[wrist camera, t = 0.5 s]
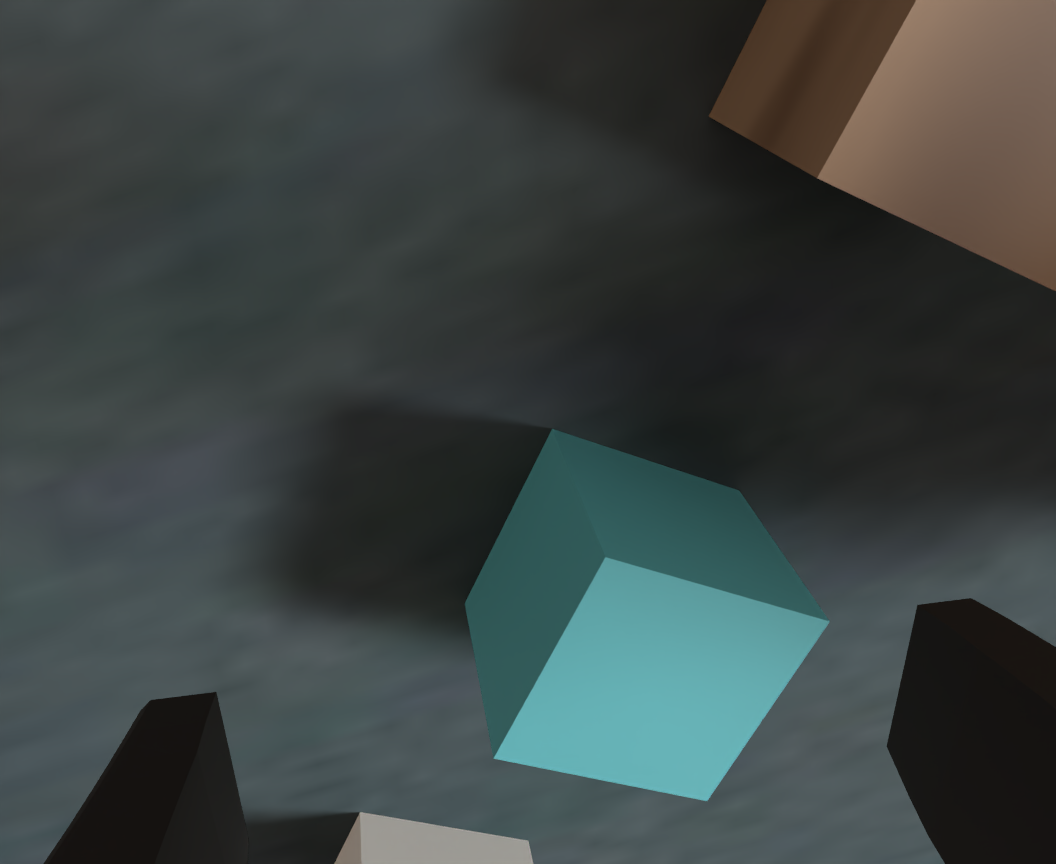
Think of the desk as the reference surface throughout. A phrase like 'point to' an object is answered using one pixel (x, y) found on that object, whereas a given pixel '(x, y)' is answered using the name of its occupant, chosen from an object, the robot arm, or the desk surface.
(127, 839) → the robot arm
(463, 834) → the white block
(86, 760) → the desk surface
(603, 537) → the teal block
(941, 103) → the walnut block
